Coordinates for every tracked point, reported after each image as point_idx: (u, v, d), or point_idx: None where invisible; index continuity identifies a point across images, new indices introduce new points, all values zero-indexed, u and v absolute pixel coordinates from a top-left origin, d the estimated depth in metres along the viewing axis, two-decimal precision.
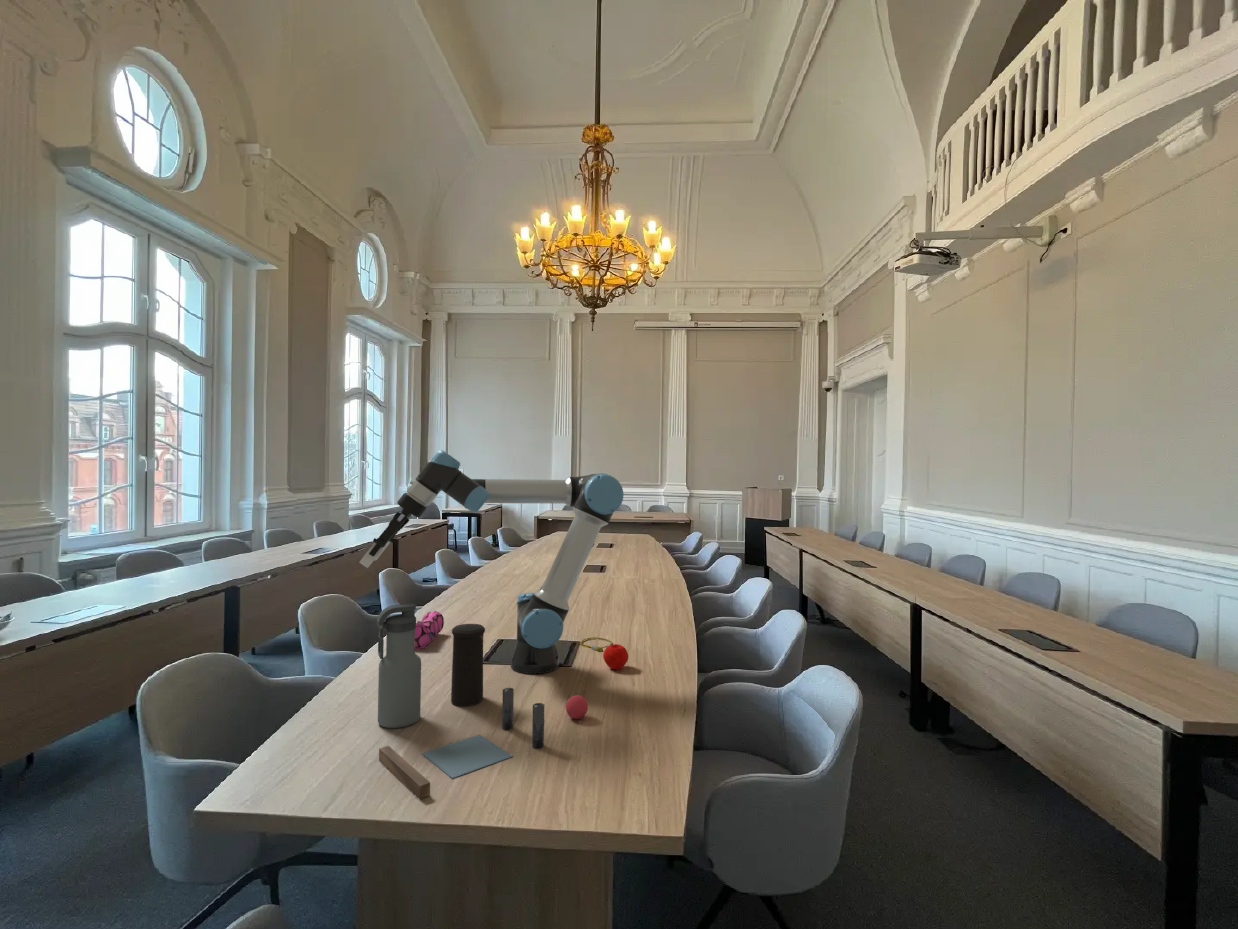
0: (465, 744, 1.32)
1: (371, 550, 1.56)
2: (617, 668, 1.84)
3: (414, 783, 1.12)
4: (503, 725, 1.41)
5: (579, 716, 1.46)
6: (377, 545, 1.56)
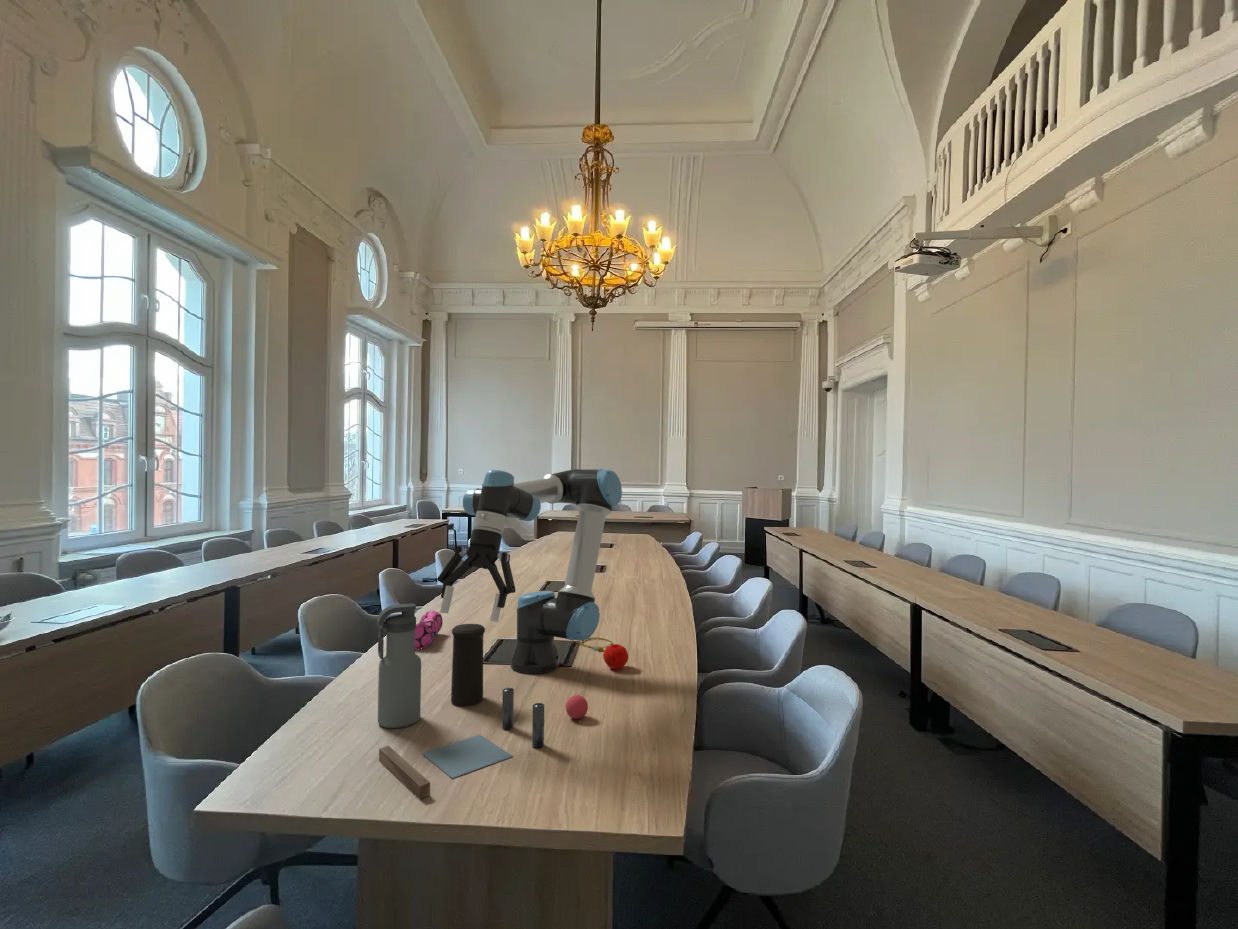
0: (465, 744, 1.32)
1: (503, 602, 1.42)
2: (617, 668, 1.84)
3: (414, 783, 1.12)
4: (503, 725, 1.41)
5: (579, 716, 1.46)
6: (505, 595, 1.43)
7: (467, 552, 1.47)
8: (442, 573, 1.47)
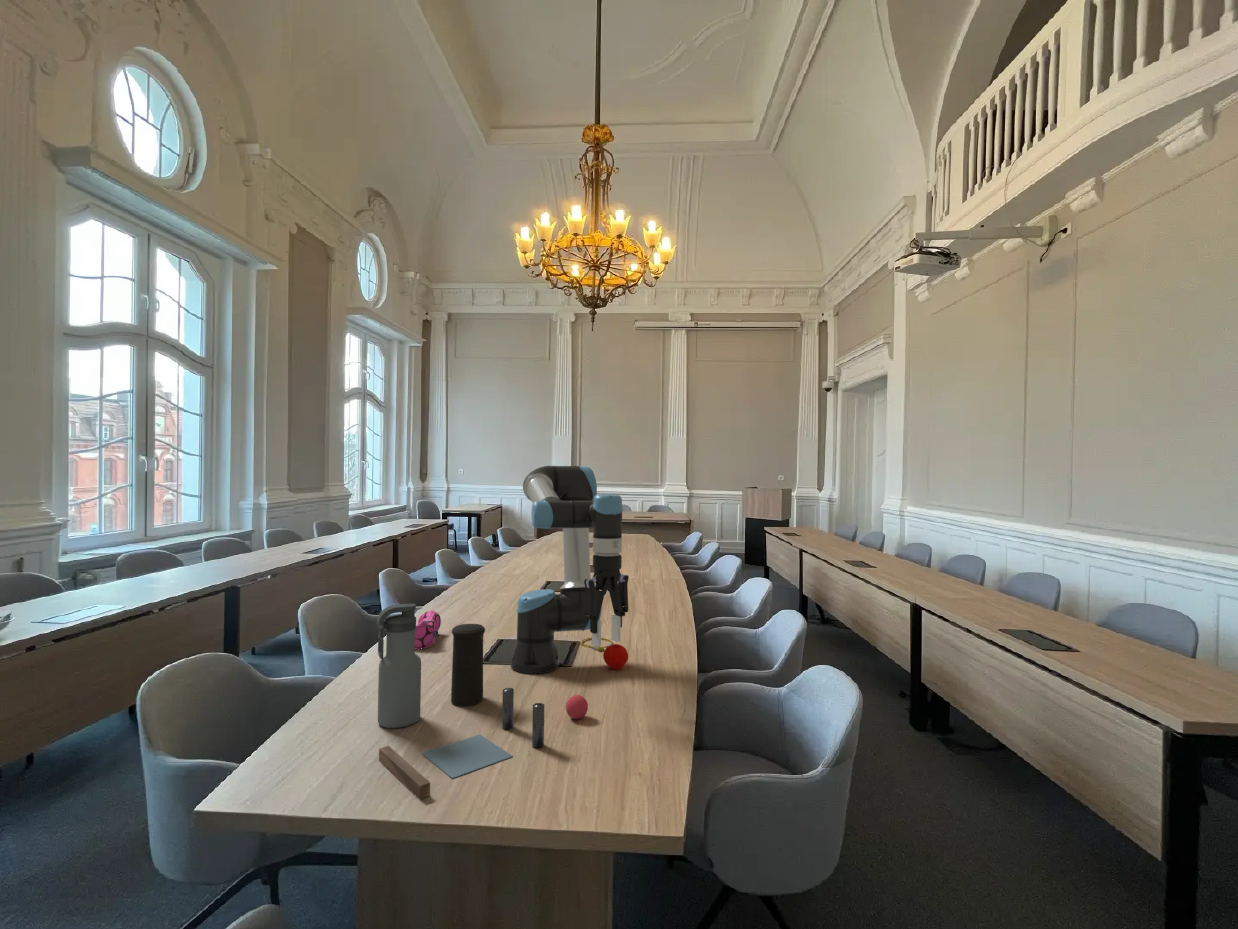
0: (465, 744, 1.32)
1: None
2: (617, 668, 1.84)
3: (414, 783, 1.12)
4: (503, 725, 1.41)
5: (579, 716, 1.46)
6: None
7: (599, 580, 1.52)
8: (591, 611, 1.49)
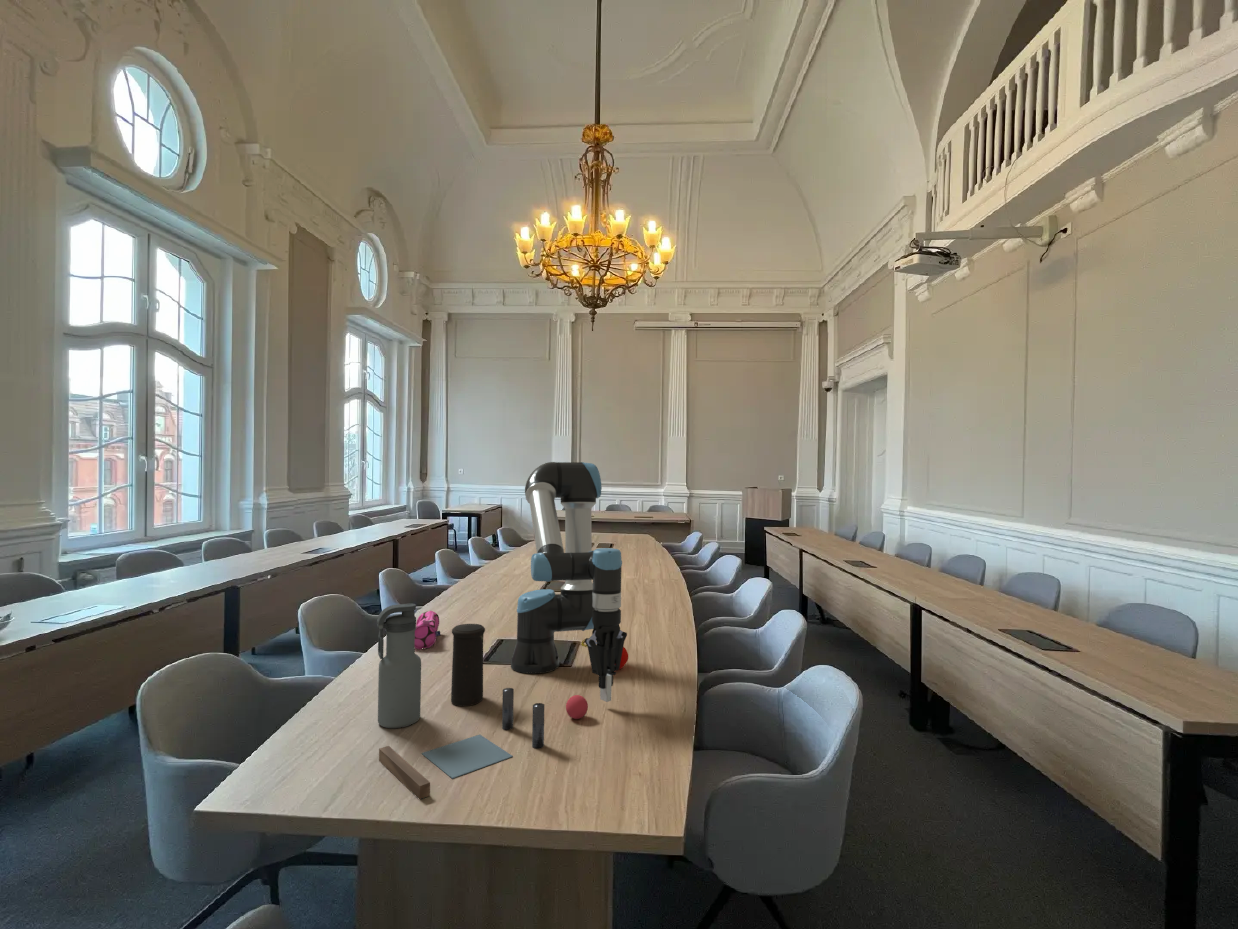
0: (465, 744, 1.32)
1: None
2: None
3: (414, 783, 1.12)
4: (503, 725, 1.41)
5: (579, 716, 1.46)
6: None
7: (599, 636, 1.51)
8: (598, 668, 1.51)
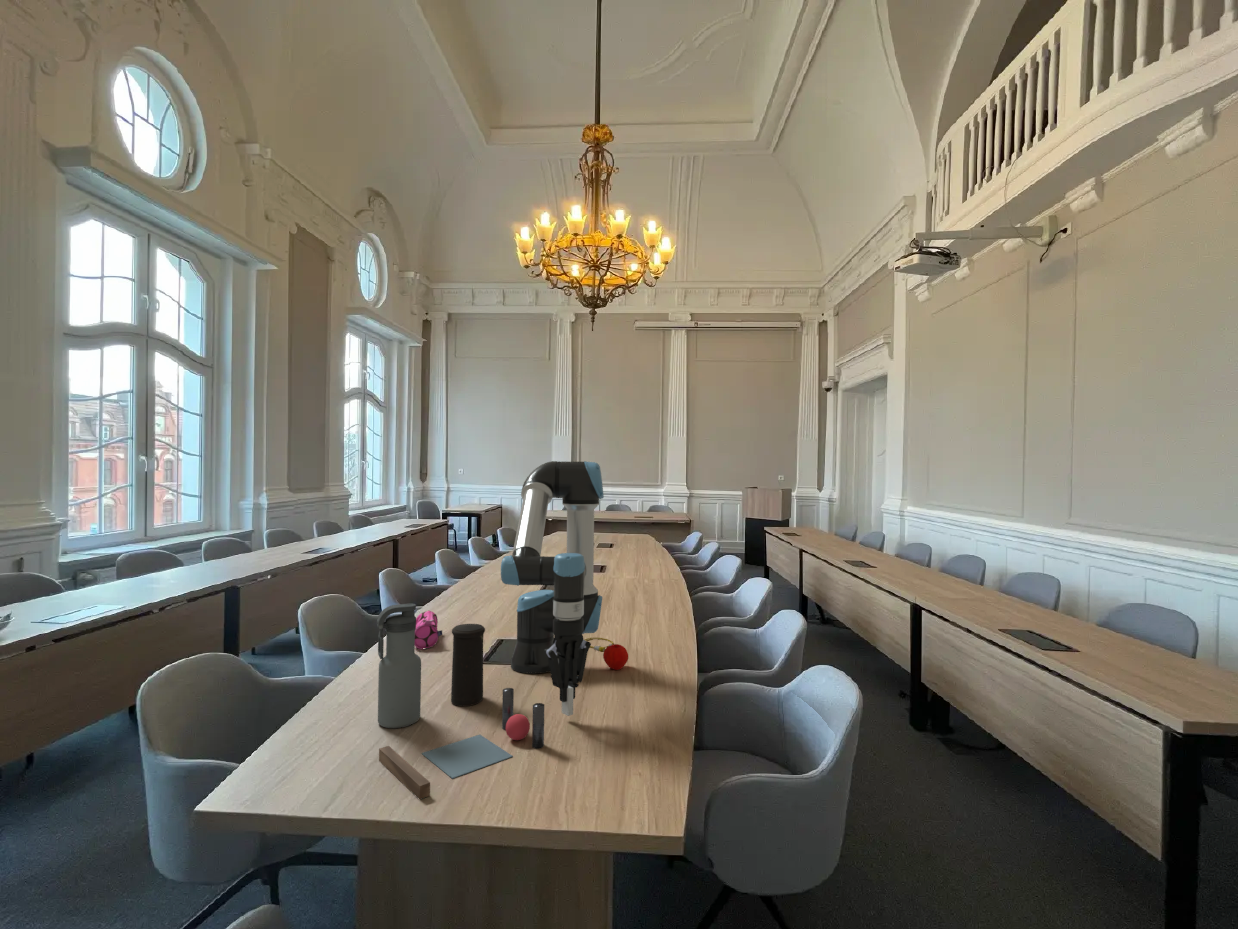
0: (465, 744, 1.32)
1: None
2: (617, 668, 1.84)
3: (414, 783, 1.12)
4: (503, 725, 1.41)
5: (517, 737, 1.33)
6: None
7: (559, 646, 1.43)
8: (558, 680, 1.42)
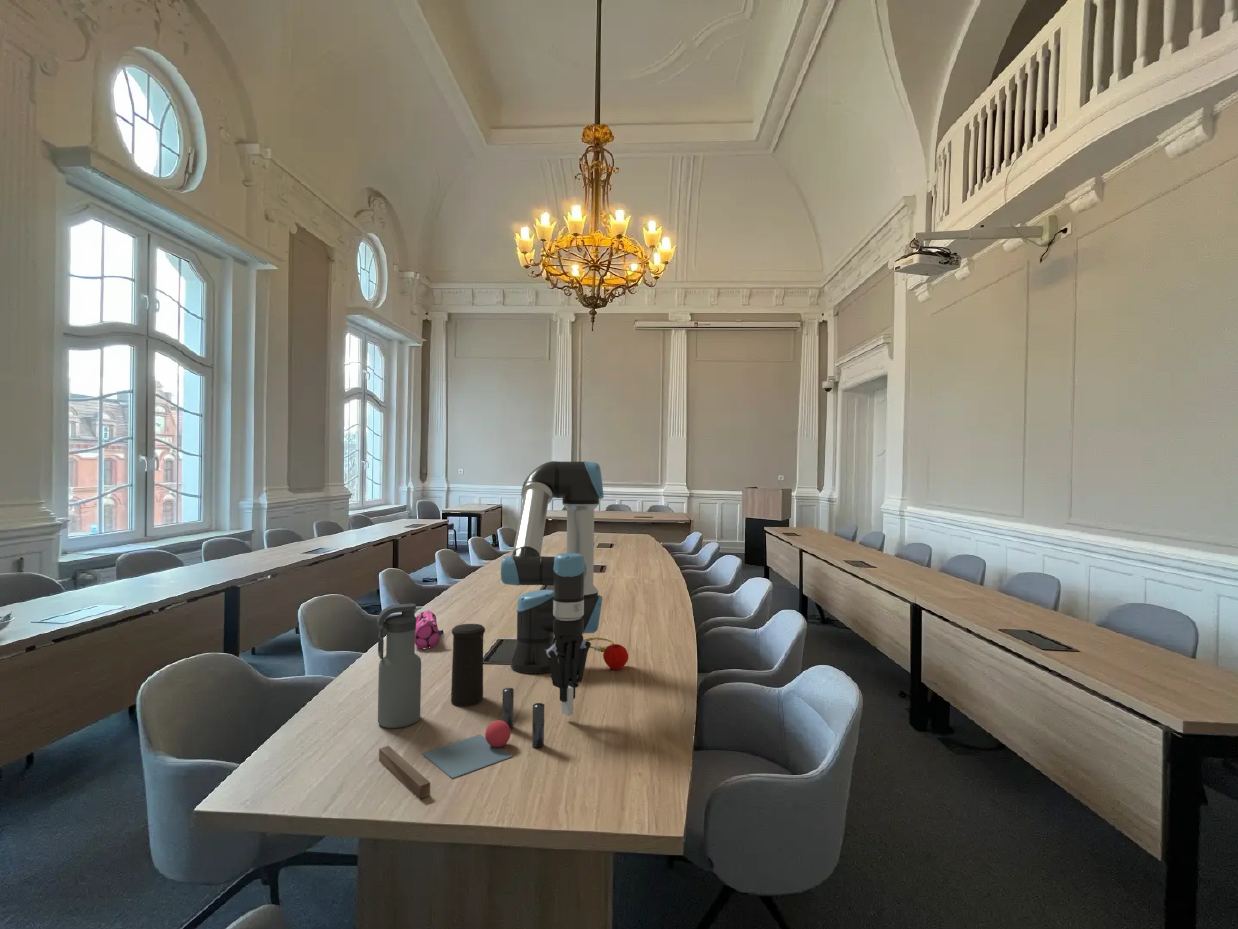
0: (465, 744, 1.32)
1: None
2: (617, 668, 1.84)
3: (414, 783, 1.12)
4: None
5: None
6: None
7: (559, 646, 1.43)
8: (558, 680, 1.42)
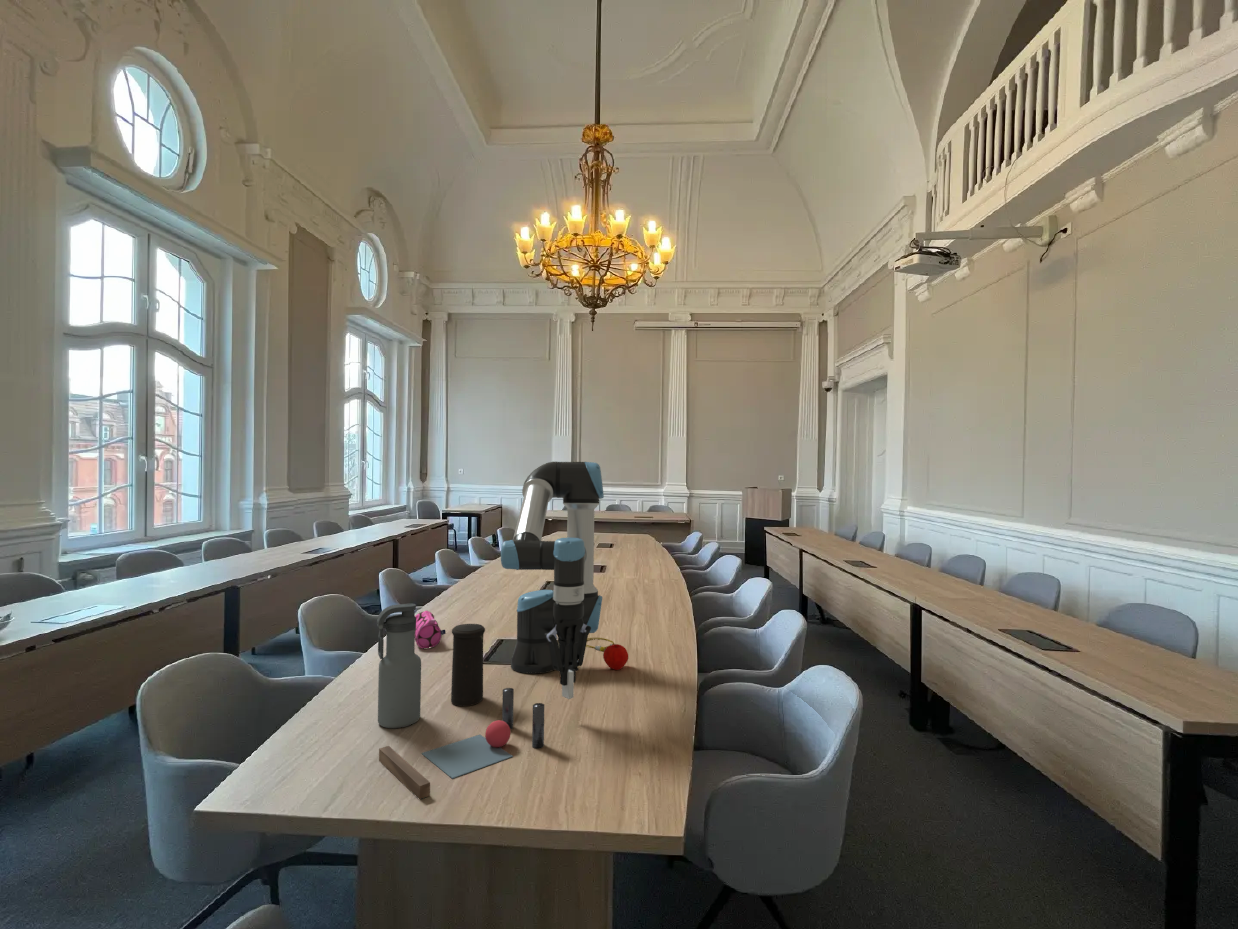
0: (465, 744, 1.32)
1: (575, 677, 1.47)
2: (617, 668, 1.84)
3: (414, 783, 1.12)
4: None
5: None
6: None
7: (559, 630, 1.43)
8: (559, 664, 1.43)
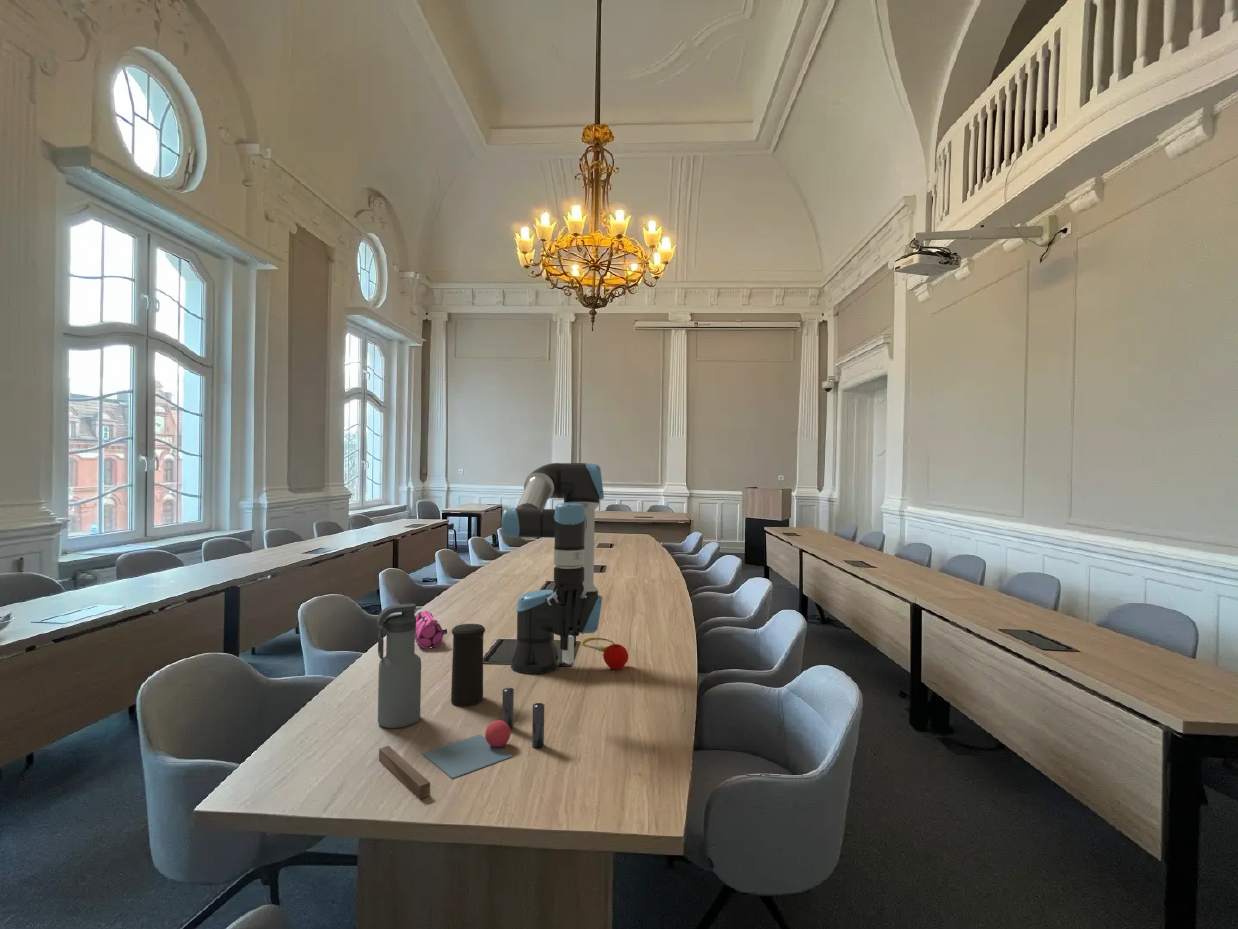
0: (465, 744, 1.32)
1: (575, 643, 1.47)
2: (617, 668, 1.84)
3: (414, 783, 1.12)
4: None
5: None
6: None
7: (560, 594, 1.43)
8: (559, 628, 1.43)
